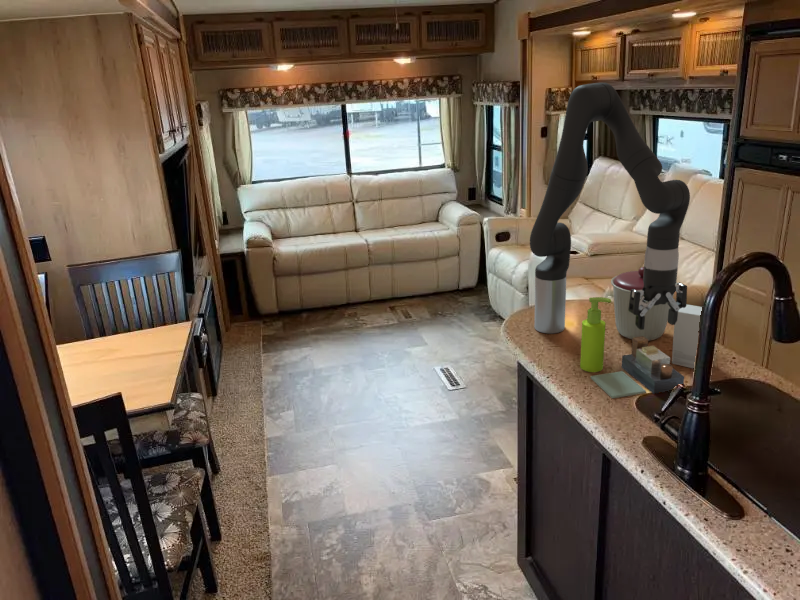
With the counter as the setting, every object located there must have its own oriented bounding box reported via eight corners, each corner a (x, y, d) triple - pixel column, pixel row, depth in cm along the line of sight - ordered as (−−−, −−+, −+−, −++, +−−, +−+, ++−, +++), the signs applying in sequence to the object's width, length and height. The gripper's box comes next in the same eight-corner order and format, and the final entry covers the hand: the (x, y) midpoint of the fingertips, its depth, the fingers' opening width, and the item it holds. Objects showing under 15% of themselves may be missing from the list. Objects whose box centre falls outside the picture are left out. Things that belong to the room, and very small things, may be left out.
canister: (628, 350, 173) (633, 280, 166) (596, 326, 190) (600, 262, 183) (685, 341, 176) (693, 272, 169) (649, 319, 193) (655, 255, 186)
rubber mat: (590, 378, 160) (590, 376, 160) (622, 373, 161) (622, 371, 161) (612, 398, 150) (612, 396, 150) (645, 392, 151) (645, 390, 151)
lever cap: (635, 361, 160) (636, 346, 158) (653, 358, 161) (654, 343, 159) (650, 373, 153) (652, 357, 152) (669, 370, 154) (670, 354, 153)
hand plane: (621, 367, 164) (623, 338, 161) (648, 362, 166) (651, 334, 163) (653, 393, 151) (656, 362, 148) (682, 388, 152) (686, 358, 149)
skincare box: (710, 362, 164) (717, 308, 158) (702, 372, 159) (708, 317, 154) (678, 354, 169) (684, 302, 164) (669, 363, 165) (674, 310, 159)
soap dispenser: (608, 372, 162) (612, 302, 155) (581, 371, 164) (584, 302, 156) (605, 362, 167) (609, 294, 160) (579, 361, 169) (582, 294, 162)
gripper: (678, 256, 152) (672, 317, 158) (625, 263, 150) (621, 324, 155) (697, 265, 145) (691, 327, 151) (642, 272, 143) (638, 336, 148)
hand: (655, 326), depth 153 cm, fingers open, 8 cm apart
